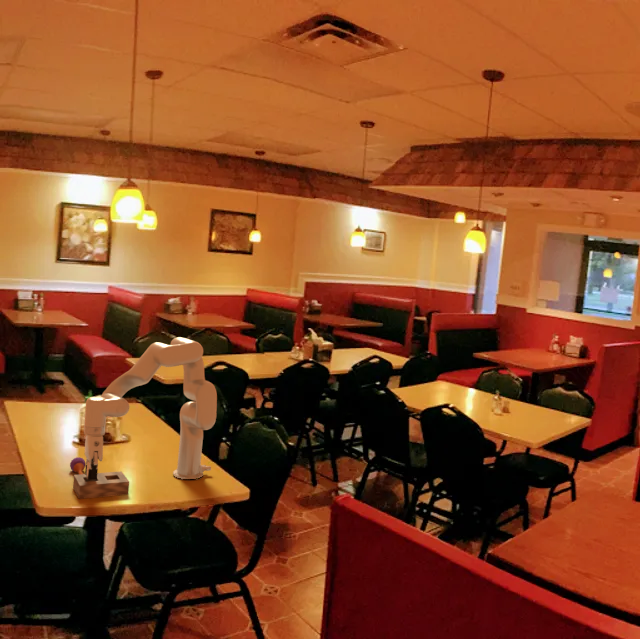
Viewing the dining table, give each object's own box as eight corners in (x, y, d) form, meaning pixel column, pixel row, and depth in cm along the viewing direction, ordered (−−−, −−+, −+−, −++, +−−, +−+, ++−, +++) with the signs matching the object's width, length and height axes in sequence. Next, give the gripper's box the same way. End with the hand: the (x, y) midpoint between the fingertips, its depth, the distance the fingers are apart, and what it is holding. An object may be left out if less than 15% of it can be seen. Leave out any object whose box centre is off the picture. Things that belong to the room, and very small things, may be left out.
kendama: (74, 476, 249) (68, 456, 267) (75, 490, 251) (70, 470, 268) (90, 473, 252) (83, 453, 269) (92, 487, 253) (85, 466, 271)
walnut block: (120, 483, 258) (121, 471, 257) (128, 494, 247) (129, 481, 247) (73, 487, 248) (73, 474, 248) (78, 498, 238) (79, 485, 238)
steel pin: (93, 486, 248) (96, 460, 248) (95, 488, 245) (98, 462, 245) (84, 486, 246) (86, 460, 246) (86, 489, 243) (88, 463, 243)
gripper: (109, 435, 239) (106, 483, 240) (99, 423, 253) (96, 469, 254) (88, 436, 235) (85, 485, 236) (79, 424, 249) (76, 470, 251)
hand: (91, 476), depth 245 cm, fingers open, 4 cm apart
